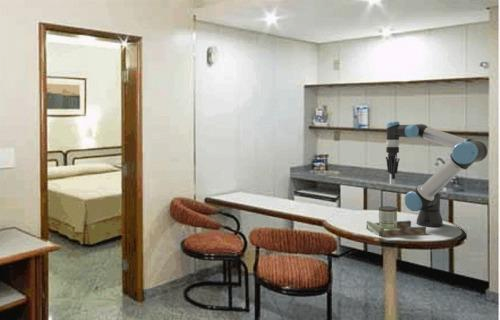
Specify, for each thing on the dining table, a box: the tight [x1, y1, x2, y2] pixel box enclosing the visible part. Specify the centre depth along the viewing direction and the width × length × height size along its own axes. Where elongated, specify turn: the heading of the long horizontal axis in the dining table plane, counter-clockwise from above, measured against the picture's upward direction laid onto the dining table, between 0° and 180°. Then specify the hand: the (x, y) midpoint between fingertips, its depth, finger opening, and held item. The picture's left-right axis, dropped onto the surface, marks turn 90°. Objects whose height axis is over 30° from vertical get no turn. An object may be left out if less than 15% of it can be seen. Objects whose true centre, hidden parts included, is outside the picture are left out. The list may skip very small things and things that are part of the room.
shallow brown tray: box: [366, 220, 427, 237], centre depth 269 cm, size 28×18×5 cm, turn 102°
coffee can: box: [378, 205, 398, 229], centre depth 268 cm, size 10×10×14 cm
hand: (392, 184), depth 290 cm, fingers closed
